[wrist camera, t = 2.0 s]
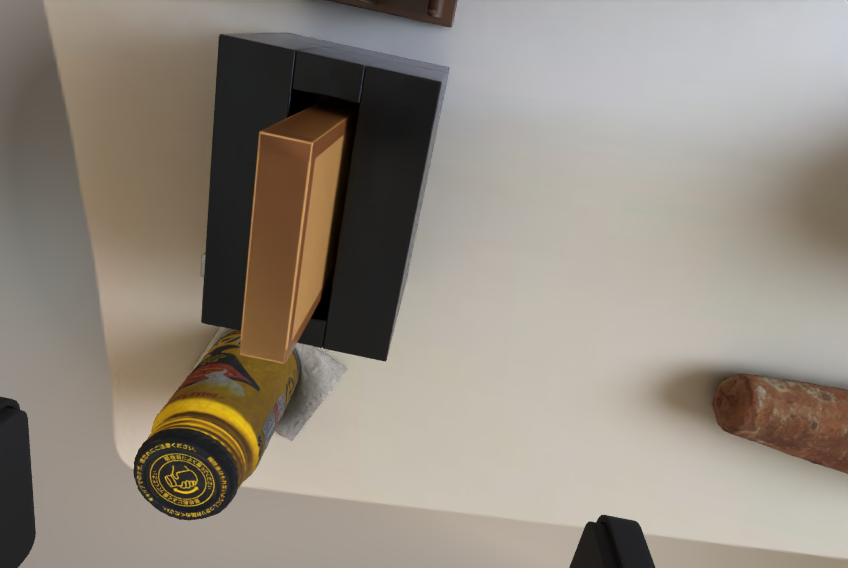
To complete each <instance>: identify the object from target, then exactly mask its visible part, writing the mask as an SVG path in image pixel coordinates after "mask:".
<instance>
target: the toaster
mask: <svg viewBox="0 0 848 568" xmlns="http://www.w3.org/2000/svg"><path fill="white" fill-rule="evenodd" d="M448 73H449V67H444V66H440V65H435V64H431V63H426V62H421V61H417V60H412V59H407V58H403V57H398V56H393V55H389V54H384V53H380V52H375V51H370V50H366V49H361V48H356V47H352V46H347V45H342V44H338V43H333V42H329V41H324V40H319V39H315V38H310V37H305V36H301V35H296V34H291V33H259V34H220V35H219V46H218V62H217V78H216V94H215V110H214V126H213V142H212V158H211V174H210V190H209V206H208V222H207V239H206V252H205V253H203V254H202V260H201V276H202V277H204V287H203V303H202V319H201V322H202V323H205V324H209V325H214V326H219V327H224V328H229V329H233V330H238V331H241V327H242V316H243V305H244V294H245V283H246V272H247V262H248V251H249V240H250V229H251V218H252V207H253V196H254V185H255V174H256V163H257V152H258V140H259V132H260V131H262V130H264V129H266V128H268V127H270V126H272V125H274V124H276V123H279V122H281V121H283V120H285V119H287V118H289V117H291V116H293V115H295V114H297V113H299V112H301V111H303V110H305V109H307V108H309V107H311V106H314V105H316V104H318V103H320V102H322V101H324V100H326V99H328V98H330V97H331V98H335V99H340V100H345V101H349V102H354V103H359V104H360V106H359V113H358V119H357V126H356V132H355V139H354V146H353V152H352V159H351V165H350V172H349V178H348V185H347V191H346V198H345V205H344V211H343V218H342V224H341V231H340V237H339V244H338V250H337V257H336V264H335V270H334V276H333V278H332V280H331V282H330V284H329V285H328V287H327V289H326V291H325V293H324V295H323V296H322V298H321V300H320V302H319V304H318V305H317V307H316V309H315V311H314V313H313V315H312V316H311V318H310V320H309V322H308V324H307V325H306V327H305V329H304V331H303V333H302V335H301V336H300V338H299V340H298V342H297V343H300V344H305V345H310V346H315V347H320V348H322V347H323V348H324V349H328V350H333V351H338V352H343V353H347V354H352V355H357V356H362V357H367V358H371V359H376V360H381V361H386V360H387V356H388V352H389V348H390V344H391V340H392V336H393V332H394V328H395V324H396V320H397V316H398V312H399V308H400V304H401V300H402V296H403V292H404V288H405V284H406V280H407V275H408V270H409V265H410V260H411V255H412V250H413V245H414V240H415V235H416V230H417V226H418V221H419V216H420V211H421V206H422V201H423V196H424V191H425V186H426V181H427V176H428V172H429V167H430V162H431V157H432V152H433V147H434V142H435V137H436V132H437V127H438V122H439V118H440V113H441V108H442V103H443V98H444V93H445V88H446V83H447V78H448Z"/></svg>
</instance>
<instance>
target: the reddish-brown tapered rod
mask: <svg viewBox="0 0 848 568" xmlns="http://www.w3.org/2000/svg"><path fill="white" fill-rule="evenodd" d="M712 406H713V410H714V414H715V417H716V420H717V423H718V425H719V426H720V427H721V428H722V429H723V430H724V431H726V432H728V433H730V434H733V435H736V436H739V437H743V438H745V439H748V440H751V441H755V442H758V443H760V444H763V445H766V446H769V447H771V448H774V449H776V450H779V451H781V452H784V453H786V454H789V455H792V456H795V457H799V458H802V459H805V460H808V461H810V462H812V463H815V464H819V465H822V466H825V467H828V468H832V469H835V470H838V471H841V472H844V473H847V474H848V390H844V389H839V388H833V387H826V386H821V385H816V384H810V383H804V382H798V381H791V380H785V379H776V378H768V377H762V376H757V375H749V374H738V375H735V376H733V377H731V378H728V379H726V380H724V381H723V382H722V383H721V384H720V385H719V386H718V388H717V390H716V392H715V395H714V398H713V402H712Z"/></svg>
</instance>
